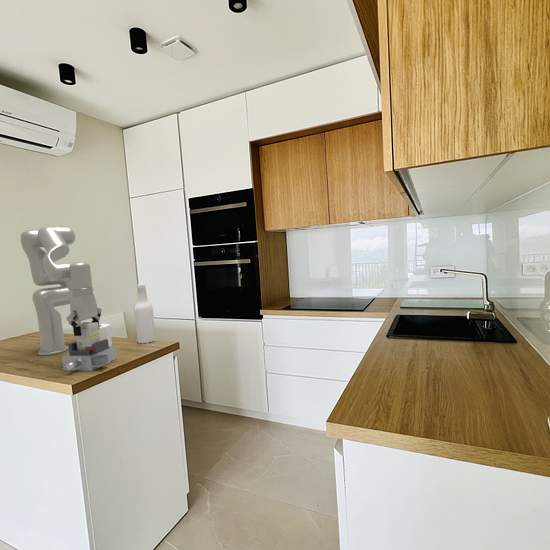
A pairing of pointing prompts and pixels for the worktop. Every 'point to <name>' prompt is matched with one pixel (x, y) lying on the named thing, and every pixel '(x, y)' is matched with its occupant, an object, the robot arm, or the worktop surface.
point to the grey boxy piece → (88, 356)
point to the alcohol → (144, 317)
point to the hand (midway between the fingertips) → (87, 332)
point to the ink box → (88, 336)
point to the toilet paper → (105, 333)
